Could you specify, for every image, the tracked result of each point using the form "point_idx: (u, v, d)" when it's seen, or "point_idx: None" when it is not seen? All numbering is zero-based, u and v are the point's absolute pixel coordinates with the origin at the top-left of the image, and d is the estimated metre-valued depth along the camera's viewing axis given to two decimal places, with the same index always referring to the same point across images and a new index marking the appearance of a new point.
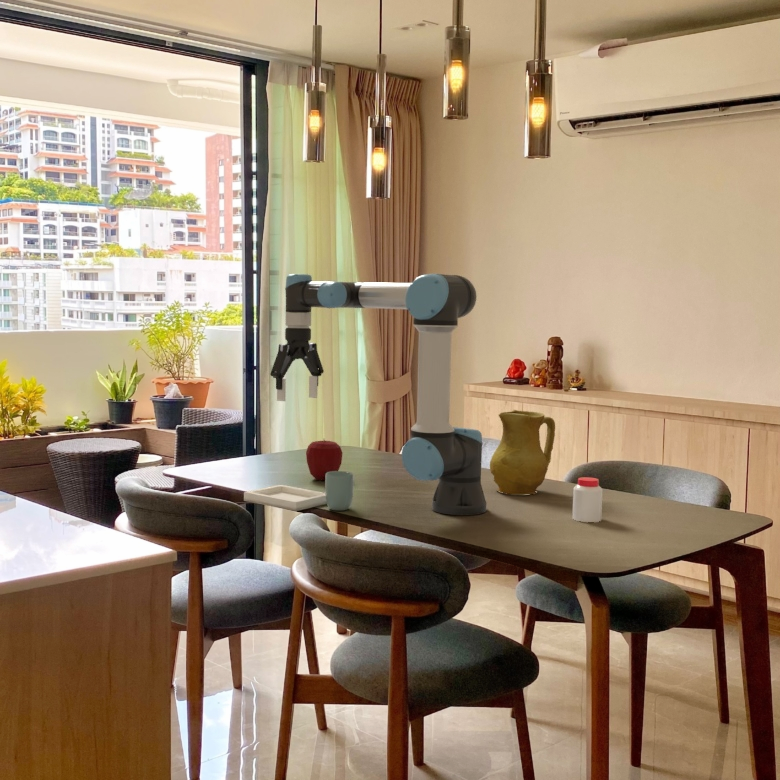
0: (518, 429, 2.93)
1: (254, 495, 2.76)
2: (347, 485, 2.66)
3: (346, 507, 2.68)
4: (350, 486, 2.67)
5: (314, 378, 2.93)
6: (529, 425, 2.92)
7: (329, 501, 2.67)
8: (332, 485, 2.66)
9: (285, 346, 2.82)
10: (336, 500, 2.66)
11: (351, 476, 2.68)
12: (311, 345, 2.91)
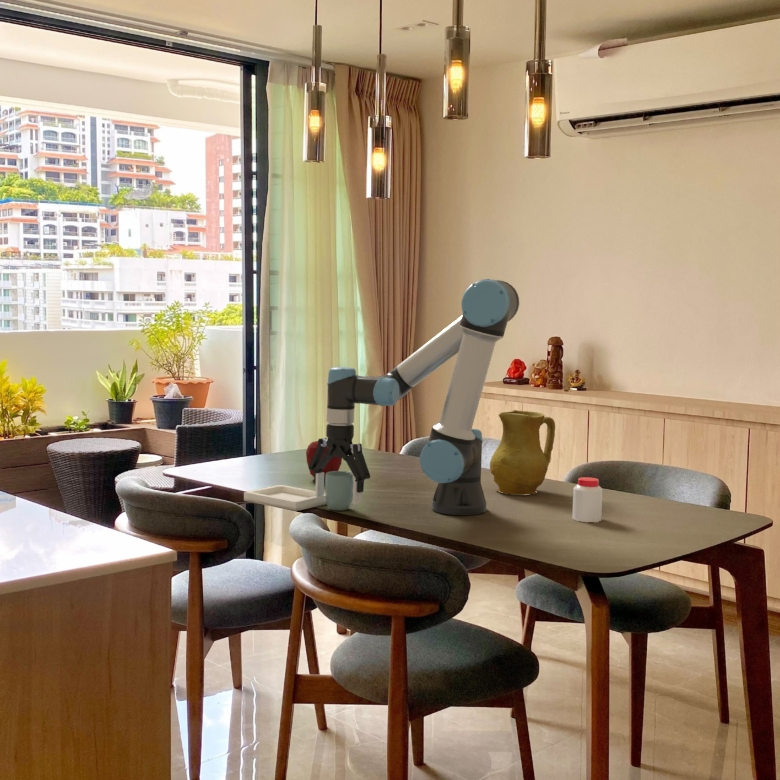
0: (518, 429, 2.93)
1: (254, 495, 2.76)
2: (347, 485, 2.66)
3: (346, 507, 2.68)
4: (350, 486, 2.67)
5: None
6: (529, 425, 2.92)
7: (329, 501, 2.67)
8: (332, 485, 2.66)
9: (319, 440, 2.72)
10: (336, 500, 2.66)
11: (351, 476, 2.68)
12: None
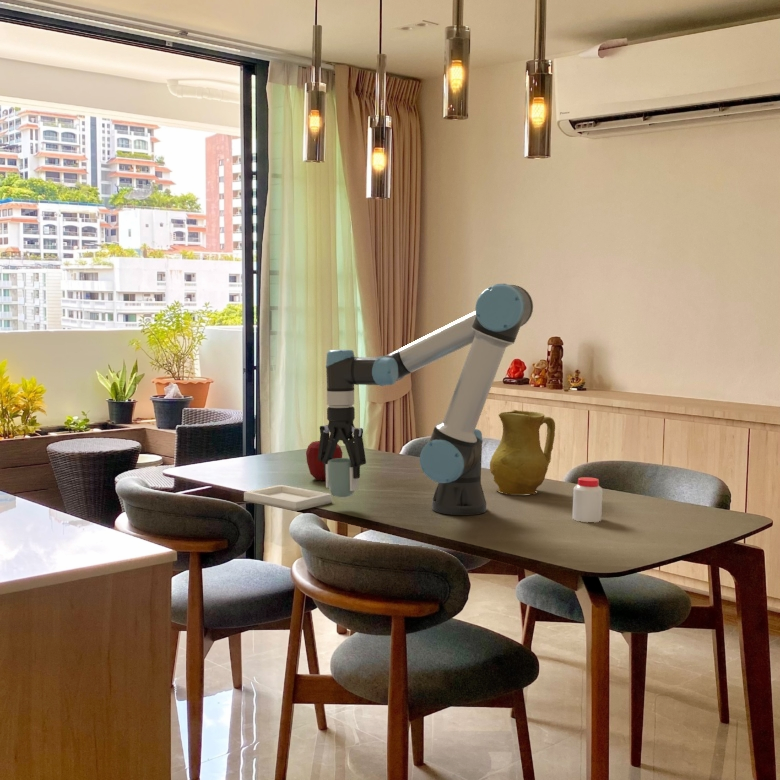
0: (518, 429, 2.93)
1: (254, 495, 2.76)
2: (349, 471, 2.66)
3: (349, 493, 2.67)
4: None
5: None
6: (529, 425, 2.92)
7: (332, 488, 2.67)
8: (334, 472, 2.66)
9: (320, 428, 2.71)
10: (339, 486, 2.66)
11: None
12: None
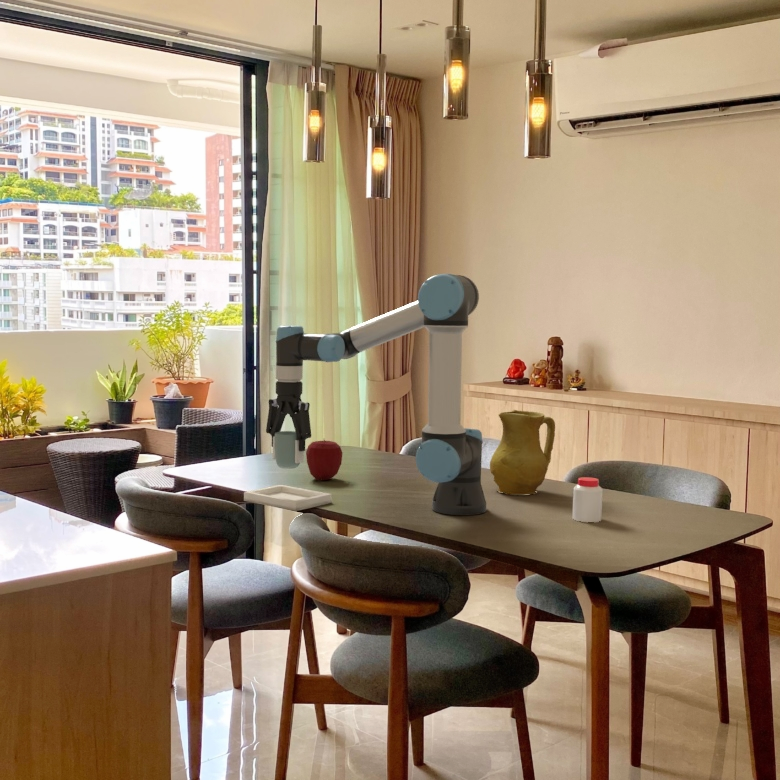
0: (518, 429, 2.93)
1: (254, 495, 2.76)
2: None
3: (294, 465, 2.75)
4: None
5: None
6: (529, 425, 2.92)
7: (278, 459, 2.75)
8: (280, 444, 2.74)
9: (269, 401, 2.79)
10: (284, 458, 2.74)
11: None
12: None
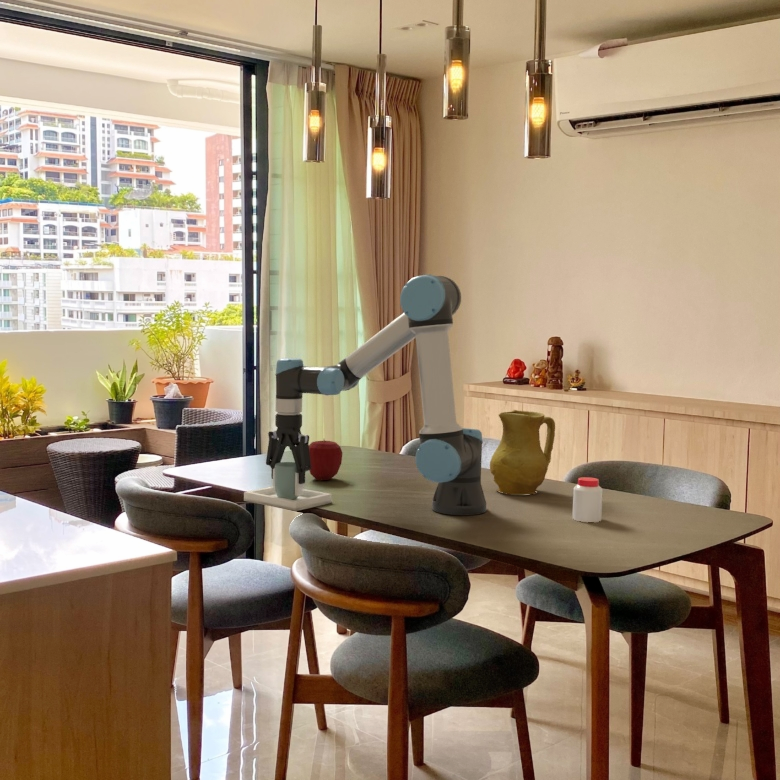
0: (518, 429, 2.93)
1: (254, 495, 2.76)
2: None
3: (294, 497, 2.76)
4: None
5: None
6: (529, 425, 2.92)
7: (278, 491, 2.76)
8: (280, 475, 2.74)
9: (269, 433, 2.80)
10: (284, 490, 2.75)
11: None
12: None
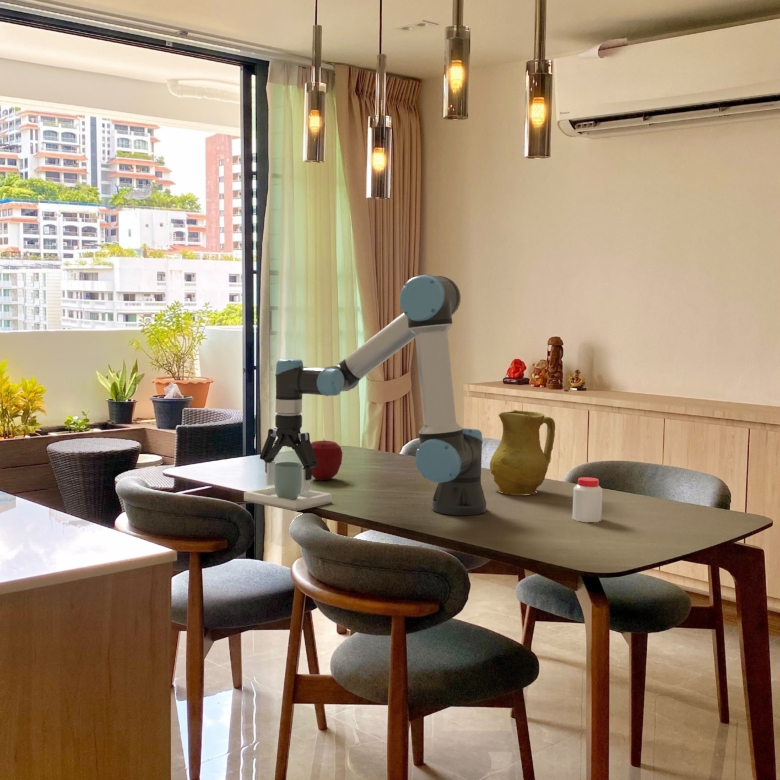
0: (518, 429, 2.93)
1: (254, 495, 2.76)
2: (295, 475, 2.75)
3: (294, 497, 2.76)
4: (298, 476, 2.76)
5: None
6: (529, 425, 2.92)
7: (278, 491, 2.76)
8: (280, 475, 2.74)
9: (269, 431, 2.80)
10: (284, 490, 2.75)
11: (299, 467, 2.76)
12: (301, 435, 2.73)
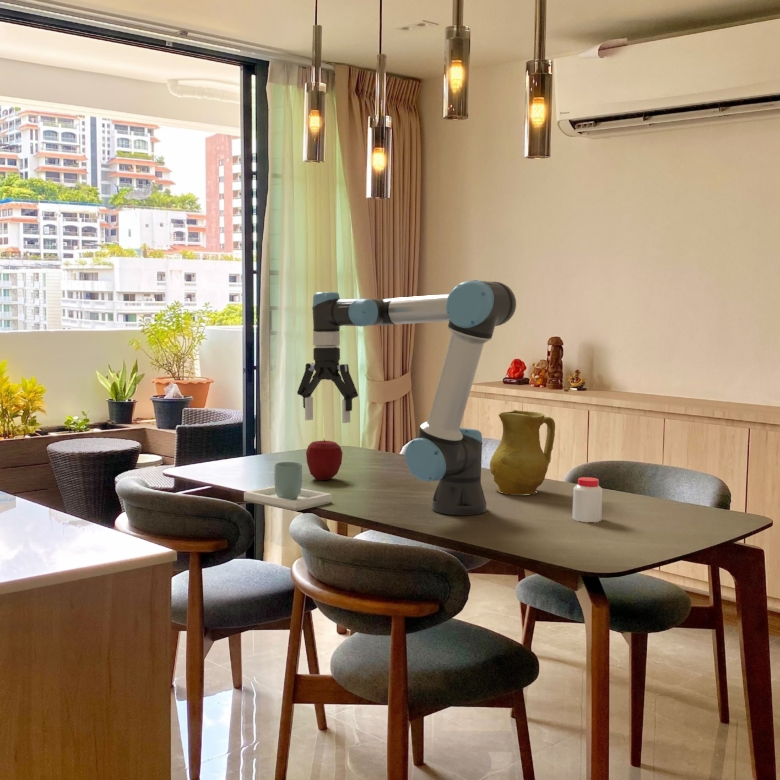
0: (518, 429, 2.93)
1: (254, 495, 2.76)
2: (295, 475, 2.75)
3: (294, 497, 2.76)
4: (298, 476, 2.76)
5: None
6: (529, 425, 2.92)
7: (278, 491, 2.76)
8: (280, 475, 2.74)
9: (306, 365, 2.81)
10: (284, 490, 2.75)
11: (299, 467, 2.76)
12: None
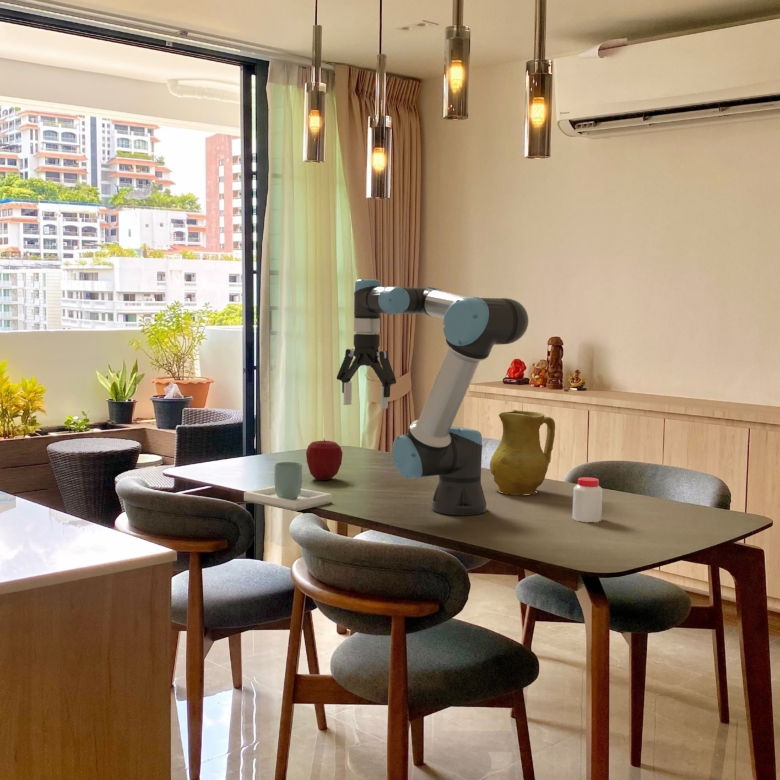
0: (518, 429, 2.93)
1: (254, 495, 2.76)
2: (295, 475, 2.75)
3: (294, 497, 2.76)
4: (298, 476, 2.76)
5: None
6: (529, 425, 2.92)
7: (278, 491, 2.76)
8: (280, 475, 2.74)
9: (346, 351, 2.86)
10: (284, 490, 2.75)
11: (299, 467, 2.76)
12: None
